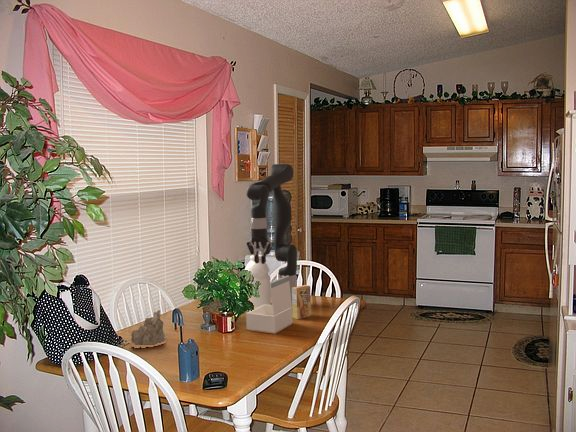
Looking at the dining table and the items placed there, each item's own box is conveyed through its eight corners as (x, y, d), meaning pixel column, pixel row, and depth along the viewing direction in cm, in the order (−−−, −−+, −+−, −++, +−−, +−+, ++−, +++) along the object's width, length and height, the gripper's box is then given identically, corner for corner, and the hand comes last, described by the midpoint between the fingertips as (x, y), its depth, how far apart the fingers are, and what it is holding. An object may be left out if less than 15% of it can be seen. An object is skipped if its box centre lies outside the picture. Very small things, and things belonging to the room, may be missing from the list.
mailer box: (246, 330, 268) (246, 313, 268) (265, 320, 283) (264, 304, 282) (275, 333, 261) (274, 316, 260) (292, 323, 276) (292, 307, 275)
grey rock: (163, 334, 265) (159, 302, 263) (170, 346, 250) (166, 312, 247) (128, 341, 259) (124, 309, 257) (133, 354, 244) (128, 320, 242)
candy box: (305, 314, 292) (305, 284, 290) (311, 316, 288) (310, 285, 287) (292, 318, 286) (291, 287, 284) (297, 319, 283) (296, 288, 281)
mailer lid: (273, 315, 261) (269, 282, 260) (291, 306, 276) (287, 275, 275) (274, 315, 260) (270, 282, 260) (292, 306, 275) (288, 275, 274)
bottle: (241, 306, 311) (239, 254, 308) (265, 303, 317) (263, 252, 314) (250, 312, 298) (248, 258, 295) (275, 308, 304) (273, 256, 301)
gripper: (242, 227, 274) (243, 263, 276) (267, 228, 268) (269, 265, 269) (250, 225, 281) (251, 261, 283) (275, 226, 274) (277, 262, 276)
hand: (260, 263), depth 276 cm, fingers open, 3 cm apart
